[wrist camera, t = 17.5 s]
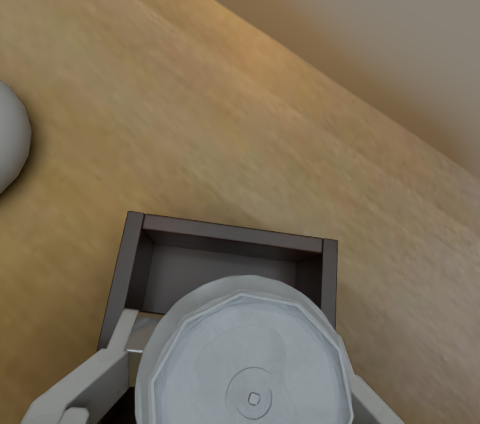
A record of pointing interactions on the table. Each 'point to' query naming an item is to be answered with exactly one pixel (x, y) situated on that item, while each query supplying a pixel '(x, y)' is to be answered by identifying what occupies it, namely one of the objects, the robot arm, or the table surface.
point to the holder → (207, 271)
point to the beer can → (244, 359)
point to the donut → (12, 136)
